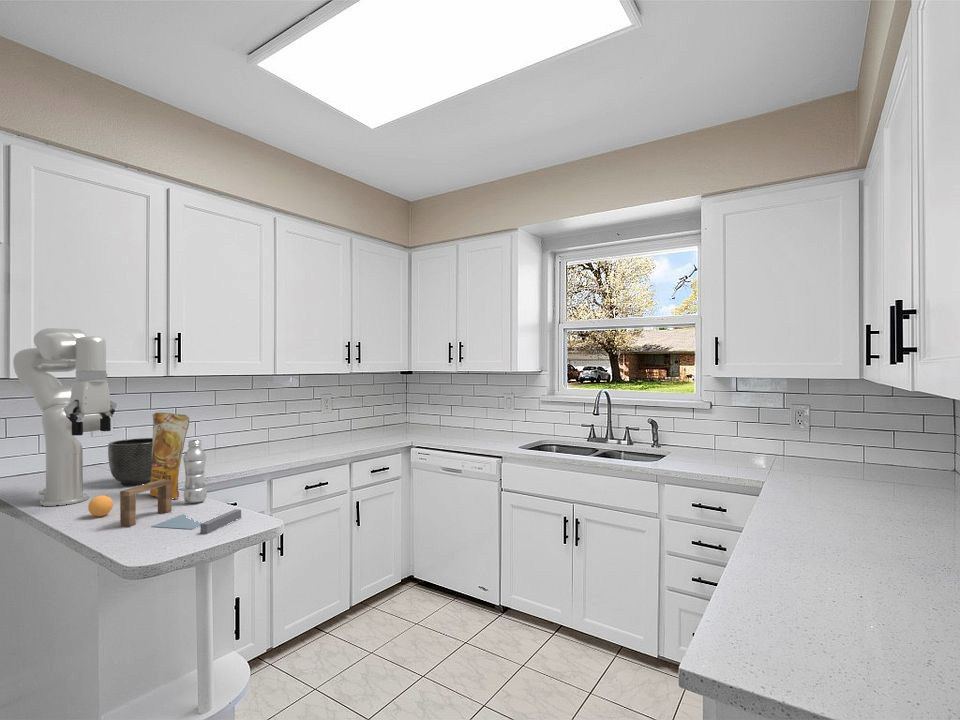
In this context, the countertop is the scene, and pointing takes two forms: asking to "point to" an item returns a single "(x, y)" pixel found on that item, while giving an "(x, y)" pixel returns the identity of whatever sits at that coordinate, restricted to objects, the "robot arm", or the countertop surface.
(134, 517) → the bridge
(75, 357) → the robot arm
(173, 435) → the pancake mix bag
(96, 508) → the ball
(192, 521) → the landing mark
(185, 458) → the plastic bottle
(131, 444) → the planter
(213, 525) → the stopper
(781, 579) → the countertop surface
